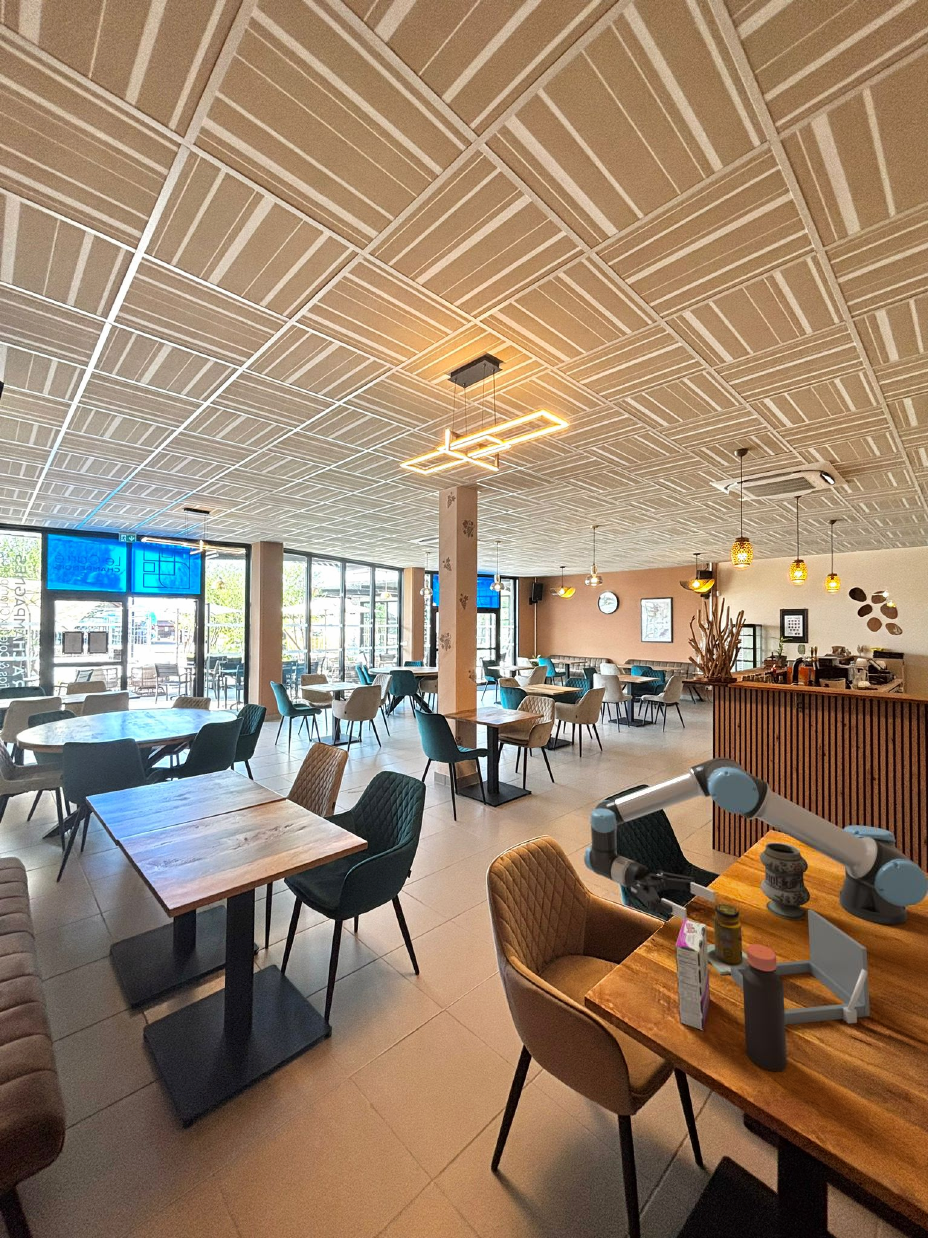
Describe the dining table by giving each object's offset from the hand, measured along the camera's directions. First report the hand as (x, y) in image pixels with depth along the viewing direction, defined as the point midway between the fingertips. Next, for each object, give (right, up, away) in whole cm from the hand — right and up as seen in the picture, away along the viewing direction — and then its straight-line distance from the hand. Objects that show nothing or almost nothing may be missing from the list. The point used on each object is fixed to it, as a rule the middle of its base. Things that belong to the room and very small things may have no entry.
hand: (700, 905), depth 131 cm
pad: (+4, -10, -5) cm, 12 cm away
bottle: (-3, -10, -34) cm, 36 cm away
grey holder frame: (+12, -10, -18) cm, 24 cm away
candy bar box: (-11, -11, -22) cm, 27 cm away
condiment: (+3, -10, -6) cm, 12 cm away
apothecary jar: (+32, -10, +15) cm, 37 cm away
